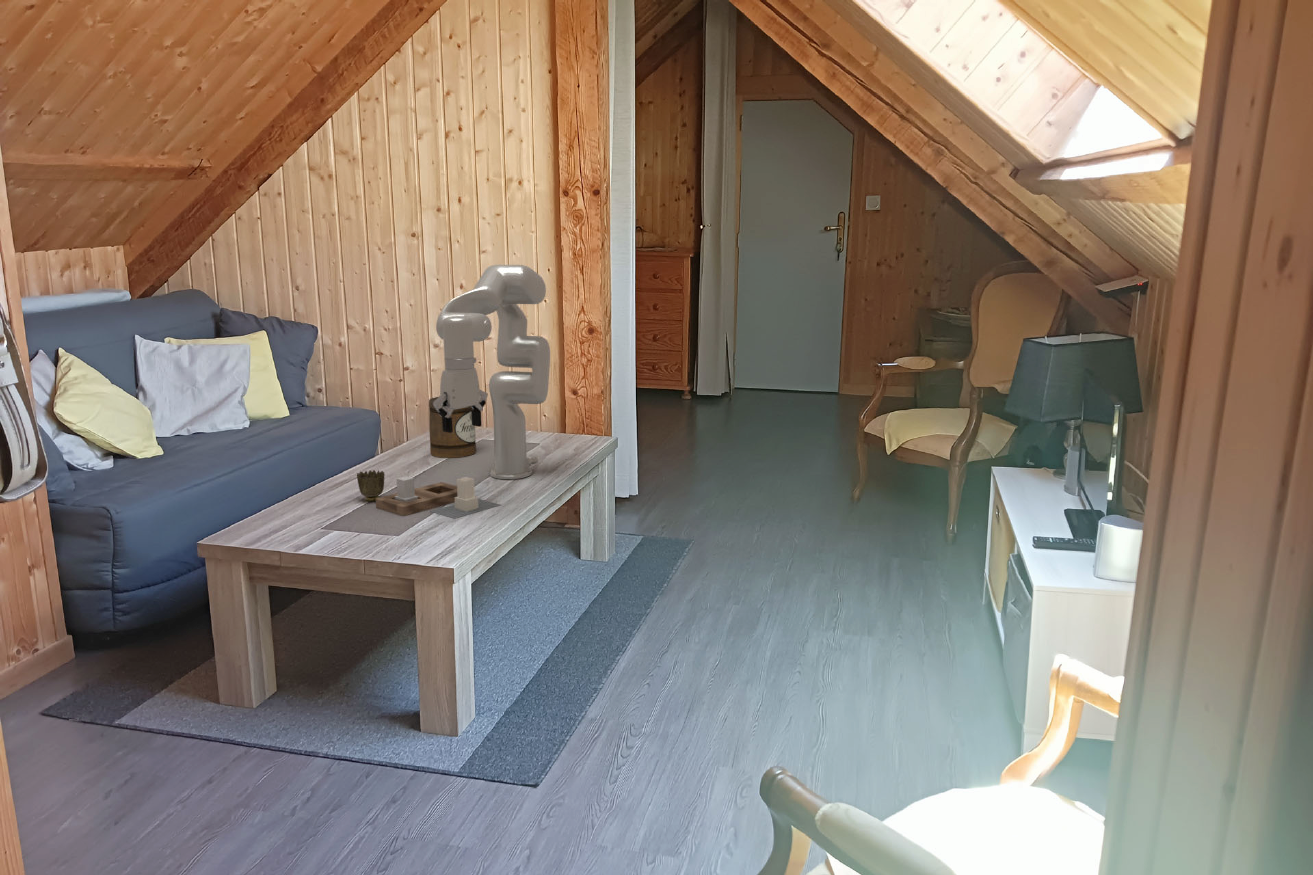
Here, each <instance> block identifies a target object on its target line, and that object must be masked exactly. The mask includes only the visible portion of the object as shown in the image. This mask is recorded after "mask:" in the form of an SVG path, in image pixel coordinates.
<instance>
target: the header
mask: <svg viewBox="0 0 1313 875" xmlns="http://www.w3.org/2000/svg"><path fill="white" fill-rule="evenodd" d="M414 490H415V496H418V499H417V500H413V501H410V502H406V503H404V502H401V501H398V500H395V496H398V494H397V492H396V493H393V494H389V495H385V496H382V497H380V496H379V498H376V501H375V508H376V509H379V510H382V511H385V512H389V513H392V514H395V515H398V516H401V517H405V516H410V515H414V514H417V513H420V512H425V511H427V510H432V509H434V508H436V509H437V508H438V507H441V506H443V507H444V506H446V505H451V504H453V503H454V504H455V498H454V497H458V495H457V485H454V484H450V483H446V482H442V481H441V482H436V483H432V484H429V485H424V486H421V487H417V488H414Z"/></svg>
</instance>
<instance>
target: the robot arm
mask: <svg viewBox="0 0 1313 875" xmlns="http://www.w3.org/2000/svg"><path fill="white" fill-rule="evenodd" d="M546 293H547V288H546V283H545V280H544V279H543V277H542V276H541V275H540V274H539V273H537V271H535V270H534V269H533V268H531V267H529V266H527V265H523V264H493V265H490V266H488V267H487V268H486V269H484V271H483V273H482V274H481V276H480V277H479V279H478V281H477V283H476V284H475V285H474V287H473V289H470V290H468V291H466V292H464V293H462V294H460V295H458V296H456V297H454V298H452V299H451V300H449V301H448V302H447V303H446V304H445V305H444V307H443V308H442V309H441V311H440V313H439V315H438V317H437V320H436V324H435V328H436V333H437V335H438V337H439V338H440V339H442V340H443V358H444V370H442V372H441V377H440V389H439V396H438V397H439V398H438V399H436V400H435V401H434V402H433V405H434V407H435V409H436V412H437V413H438V414H440V416H441V417H442V427H443V431H444V432H448V433H452V432H453V428H452V418H451V417H450V415H451V414H452V412H453V410H454V409H460V408H466V407H472V408H473V410H472V412H471V416H472V425H474V426H475V427H480V428H481V427H482V412H483V411H484V407H485V405H486V404H487V399H488V395H489V396H490V399H491V400H490V401H491V405H492V414H493V416H492V417H493V440H494V441H493V443H494V468H492V469H491V470H490V474H489V475H490V476H491V477H492V478H495V479H500V480H517V479H524V478H528V477H530V476H531V475H532V474H533V470H532V468H531V467H530V466H531V465H537V464H538V463H539V459H538V457H536V456H535V457H531V458H529V457H527V432H526V431H527V430H526V429H527V428H526V425H527V421H526V416H525V412H524V411H523V409H522V408H521V406H519V405H521V404H522V405H541V404H543V403H545V401H546V400H547V397H548V393H549V384H550V382H549V380H550V367H551V366H550V365H551V348H550V344H549V342H548V340H547V339H546V338H545V337H544V336H540V335H528V319H527V316H526V314H525V312H523V310H522V309H521V307H520V306H519V305H539V304H541V303H542V302H543V301H544V299H545V298H546V295H547V294H546ZM494 312H495V313H496V314H497V315H496V316H497V318H498V329H497V330H498V333H497V334H498V335H497V343H496V344H497V346H496V360H497V363H498V364H499V365H501V366H503V367H505V368H526V369H532V370H531V371H519V370H518V371H516V370H515V371H514V370H511V371H510V370H509V371H507V370H505V371H504V370H503V371H498V372H496V373H493V375H491V376H490V379H489V381H488V382H489V383H488V390H489V391H488V392H489V394H488V392H486V391H484V390H482V389H480V382H479V375H478V371H477V368H476V367H475V363H477V358H476V357H475V352H474V343H475V342H477V343H478V342H483V341H486V339H488V338H489V337H490V336H491V332H492V330H493V329H492V322H491V319H490V318H489V317H488V316H487V315H490V314H492V313H494ZM442 407H443V408H442ZM447 410H448V411H447Z"/></svg>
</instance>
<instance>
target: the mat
mask: <svg viewBox="0 0 1313 875" xmlns="http://www.w3.org/2000/svg"><path fill="white" fill-rule="evenodd" d="M500 506H501V504H500V503H497V502H492V501H489V500H486V499H481V498H478V508H477V509H474V510H470V511H463V510H460V509H456V508H455V503H454V504H449V505H447V506H443V507H440V508H436V509H433V510H432V509H431V510H430V513H433V514H436V515H440V516H444V517H447V518H451V519H452V520H453V519H454V520H455V519H458V518H462V517H466V516H470V515H473V514H476V513H479V512H483V511H486V510H489V509H493V508H496V507H500Z"/></svg>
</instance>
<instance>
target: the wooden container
mask: <svg viewBox="0 0 1313 875" xmlns="http://www.w3.org/2000/svg"><path fill="white" fill-rule="evenodd" d="M439 397H440V396H435V397H431V398H429V399H428V414H429V415H428V417H429V420H428V421H429V445H430V447H429V449H430V455H431V456H433V457H437V458H441V459H442V458H445V459H451V458H452V459H453V458H454V459H458V458H465V457H469V455H470V456H472V455H474V454H475V453H476V452H477V446H476V443H477V442H476V440H477V438H476V426H474V425H472V416H471V412H472V410H473V408H472V407H466V408H460V409H454V410H453V412H452V414H451V415H450V417H451V418H452V428H453V432H452V433H448V432H444V431H443V427H442V417H441V416H440V414H438V413H437V412H436V409H435V407H434V405H433V402H434V401H435V400H436V399H438V398H439ZM442 408H443V407H442ZM447 411H448V410H447Z"/></svg>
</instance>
